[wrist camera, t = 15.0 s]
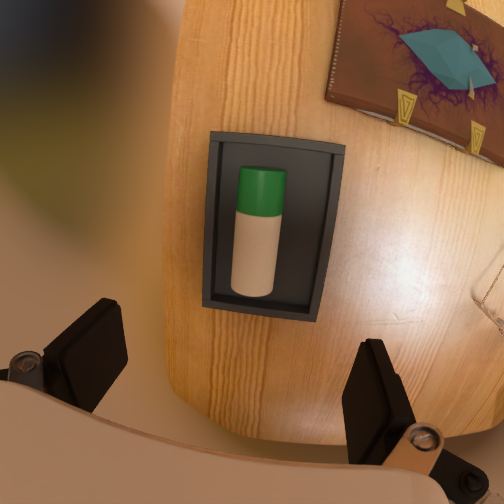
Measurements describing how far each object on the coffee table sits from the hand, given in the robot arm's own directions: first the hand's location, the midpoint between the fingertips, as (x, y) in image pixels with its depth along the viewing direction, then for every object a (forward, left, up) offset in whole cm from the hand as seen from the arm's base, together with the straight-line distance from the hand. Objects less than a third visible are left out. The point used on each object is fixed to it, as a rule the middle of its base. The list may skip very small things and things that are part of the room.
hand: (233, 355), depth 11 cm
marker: (+1, 0, -16) cm, 16 cm away
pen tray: (0, 0, -17) cm, 17 cm away
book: (+18, -16, -17) cm, 30 cm away
